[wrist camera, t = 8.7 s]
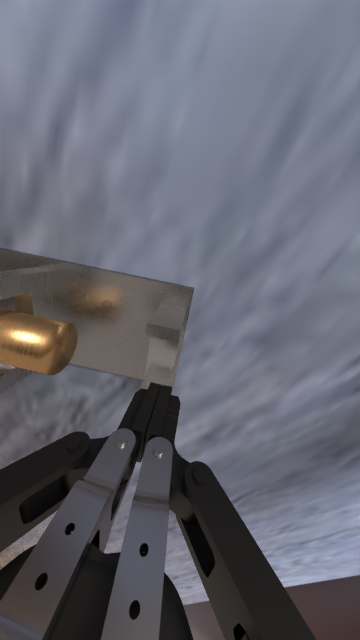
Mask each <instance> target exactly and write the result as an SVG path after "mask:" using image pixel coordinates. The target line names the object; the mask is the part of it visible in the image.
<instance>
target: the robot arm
mask: <svg viewBox="0 0 360 640" xmlns="http://www.w3.org/2000/svg"><path fill="white" fill-rule="evenodd" d="M171 392H172V387H171V386H166V385H162V386H161V384H157V383H153V382H151V383H150V385H149V387H148V389H142V388H141V389H140V390H138V391H137V392H136V393H135V395H134V397H133V399H132V401H131V403H130V405H129V407H128V409H127V411H126V413H125V415H124V417H123V419H122V421H121V423H120V425H119V427H118V429H117V430H116V431H114V432H113V433H112V434H111V435H110V436H108V437H104V438H97V439H90V438H89V436H88V434H86V433H85V432H73V433H71V434H69V435H67V436H65V437H63V438H61V439H59V440H57V441H55V442H53V443H51V444H49V445H47V446H45V447H43V448H41V449H40V450H38V451H36V452H34V453H32V454H30V455H28V456H26V457H24V458H22V459H20V460H18V461H16V462H14V463H12V464H10V465H9V466H7V467H5V468H3V469H1V470H0V552H1V551H3V550H4V549H6V548H7V547H8V546H10V545H11V544H12V543H14V542H15V541H16V540H18V539H19V538H20V537H22V536H23V535H24V534H26V533H27V532H29V531H30V530H31V529H33V528H34V527H35V526H37V525H38V524H39V523H41V522H42V521H43V520H45V519H46V518H47V517H49V516H50V515H51V514H53V513H54V512H56V511H57V510H58V511H57V512H56V514H55V516H54V517H53V519H52V520H51V522H50V523H49V525H48V527H47V528H46V530H45V531H44V533H43V535H42V536H41V538H40V539H39V541H38V542H37V544H36V545H34V546H32V547H30V548H29V549H27V550H26V551H24V552H23V553H21V554H20V555H18V556H17V557H16V558H15V559H13V560H12V561H11V562H10V563H8V564H7V565H6V566H5V567H4V568H2V569H1V570H0V640H193V636H192V633H191V630H190V626H189V623H188V620H187V616H186V613H185V610H184V607H183V604H182V601H181V599H180V596H179V594H178V592H177V590H176V588H175V586H174V584H173V583H172V581H171V580H170V578H169V577H168V576H167V575H166V574H165V572H164V569H165V557H166V545H167V532H168V520H169V509H170V510H172V511H173V512H174V513H175V514H176V518H177V521H178V523H179V526H180V528H181V531H182V533H183V536H184V538H185V541H186V543H187V546H188V548H189V551H190V553H191V556H192V558H193V561H194V563H195V566H196V568H197V571H198V573H199V576H200V578H201V581H202V583H203V586H204V588H205V590H206V593H207V595H208V598H209V600H210V603H211V605H212V608H213V610H214V613H215V615H216V618H217V620H218V623H219V625H220V628H221V630H222V633H223V635H224V638H225V640H316V638H315V637H314V635H313V634H312V632H311V630H310V629H309V627H308V626H307V624H306V622H305V621H304V619H303V617H302V616H301V614H300V613H299V611H298V609H297V608H296V606H295V604H294V603H293V601H292V600H291V598H290V596H289V595H288V593H287V592H286V590H285V588H284V587H283V585H282V584H281V582H280V580H279V579H278V577H277V575H276V574H275V572H274V571H273V569H272V567H271V566H270V564H269V563H268V561H267V559H266V558H265V556H264V555H263V553H262V551H261V550H260V548H259V546H258V545H257V543H256V542H255V540H254V538H253V537H252V535H251V534H250V532H249V530H248V529H247V527H246V526H245V524H244V522H243V521H242V519H241V518H240V516H239V514H238V513H237V511H236V509H235V508H234V506H233V505H232V503H231V501H230V500H229V498H228V497H227V495H226V493H225V492H224V490H223V489H222V487H221V485H220V484H219V482H218V480H217V479H216V477H215V476H214V474H213V472H212V471H211V469H210V468H209V467H208V466H207V465H206V464H204V463H202V462H199V461H195V462H192V463H189V462H188V461H186V460H185V459H183V458H182V457H181V456H180V455H179V454H178V453H177V451H176V449H175V445H174V440H175V434H176V428H177V422H178V416H179V410H180V400H179V397H177V396H173V395H171ZM142 457H143V459H142ZM141 460H142V465H141V470H140V474H139V478H138V483H137V487H136V492H135V496H134V498H133V502H132V506H131V510H130V514H129V519H128V523H127V527H126V532H125V536H124V540H123V545H122V549H121V552H119V553H110V554H105V553H104V550H105V548H106V545H107V542H108V539H109V536H110V532H111V528H112V525H113V522H114V520H115V517H116V515H117V512H118V510H119V507H120V505H121V502H122V500H123V497H124V494H125V492H126V489H127V487H128V484H129V482H130V479H131V476H132V473H133V470H134V467H135V464H136V461H137V462H141Z"/></svg>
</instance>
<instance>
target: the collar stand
mask: <svg viewBox="0 0 360 640" xmlns="http://www.w3.org/2000/svg"><path fill="white" fill-rule="evenodd" d="M193 291H194V288H192V287H187V286H183V285H178V284H173V283H168V282H163V281H158V280H154V279H149V278H144V277H139V276H134V275H129V274H125V273H120V272H115V271H110V270H105V269H100V268H96V267H91V266H86V265H81V264H76V263H72V262H67V261H62V260H57V259H52V258H47V257H43V256H38V255H33V254H28V253H23V252H18V251H14V250H9V249H4V248H0V308H3V309H8V310H13V311H17V312H22V313H26V314H31V315H35V316H40V317H45V318H49V319H54V320H58V321H63V322H67V323H71V324H73V325H74V326H75V328H76V330H77V335H78V340H77V346H76V350H75V352H74V355H73V357H72V359H71V360H70V362H69V363H70V364H74V365H79V366H83V367H88V368H92V369H96V370H101V371H105V372H110V373H114V374H118V375H123V376H127V377H132V378H136V379H141V380H143V381H142V383H141V385H140V387H139V389H138V390H140V389H141V388H142V389H148V387H149V385H150V383H151V382H153V383H157V384H161V386H162V385H166V386H171V387H173V384H174V379H175V374H176V370H177V365H178V360H179V356H180V351H181V346H182V342H183V337H184V332H185V328H186V323H187V319H188V314H189V309H190V305H191V300H192V295H193ZM31 372H32V371H31V370H26V369H22V368H18V367H13V366H9V365H4V364H0V394H2V393H3V392H4V391H6V390H7V389H9V388H10V387H11V386H13V385H14V384H15V383H17V382H18V381H20V380H21V379H22V378H24V377H25V376H26V375H28V374H29V373H31Z"/></svg>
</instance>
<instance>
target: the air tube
mask: <svg viewBox="0 0 360 640" xmlns="http://www.w3.org/2000/svg"><path fill="white" fill-rule="evenodd" d="M77 340H78V335H77V330H76V328H75V326H74V325H73V324H71V323H67V322H63V321H58V320H54V319H49V318H45V317H40V316H35V315H31V314H26V313H22V312H17V311H13V310H8V309H3V308H0V364H4V365H9V366H13V367H18V368H22V369H26V370H31V371H35V372H39V373H44V374H48V375H54V374H57V373H59V372H60V371H62V370H63V369H64V368H65V367H66V366H67V365H68V363H69V362H70V360H71V359H72V357H73V355H74V352H75V350H76V346H77Z"/></svg>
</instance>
